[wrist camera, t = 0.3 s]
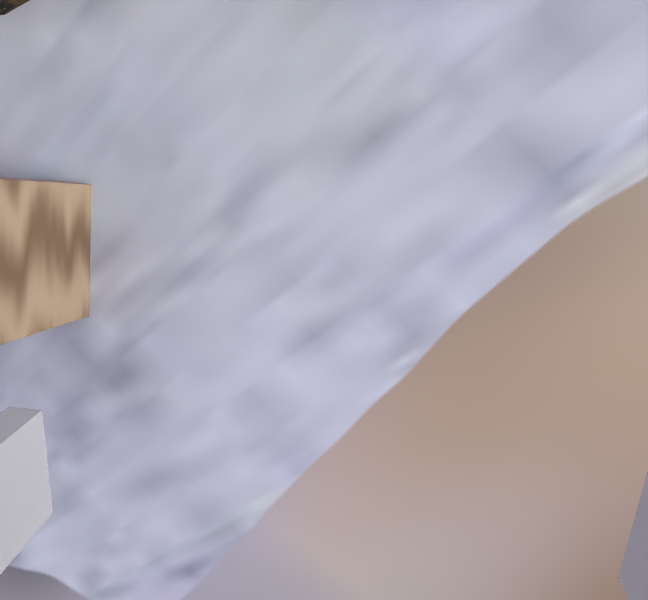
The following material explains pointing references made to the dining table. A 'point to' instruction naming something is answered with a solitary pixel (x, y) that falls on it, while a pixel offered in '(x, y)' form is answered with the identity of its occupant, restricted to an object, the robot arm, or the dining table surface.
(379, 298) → the dining table surface
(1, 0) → the wood log slice
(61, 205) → the door
